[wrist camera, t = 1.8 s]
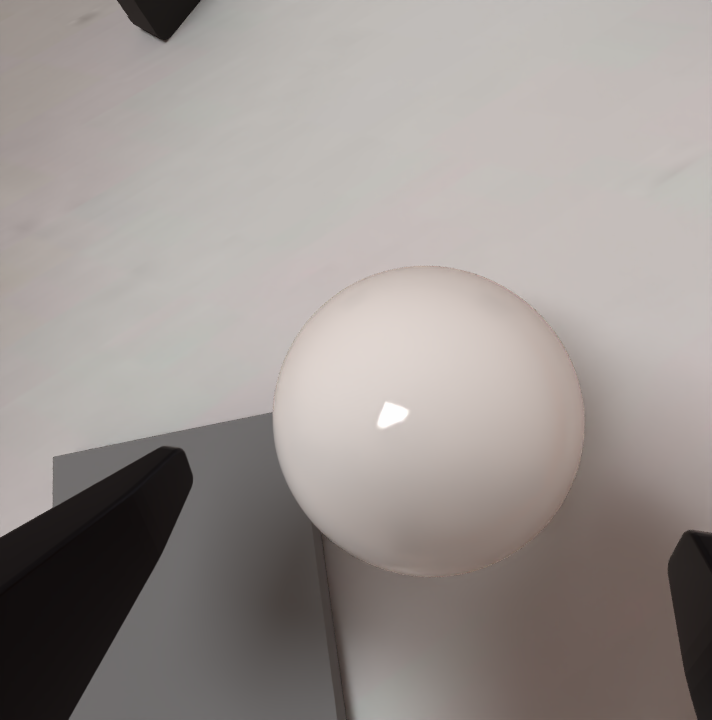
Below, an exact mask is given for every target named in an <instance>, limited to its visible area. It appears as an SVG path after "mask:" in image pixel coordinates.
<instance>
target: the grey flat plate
mask: <svg viewBox="0 0 712 720" xmlns="http://www.w3.org/2000/svg"><path fill="white" fill-rule="evenodd" d="M272 416H273V412H272V413H267V414H262V415H257V416H252V417H247V418H242V419H237V420H232V421H227V422H222V423H218V424H213V425H208V426H203V427H198V428H193V429H188V430H183V431H178V432H173V433H168V434H164V435H159V436H154V437H149V438H144V439H139V440H134V441H129V442H124V443H119V444H114V445H109V446H105V447H100V448H95V449H90V450H85V451H80V452H75V453H70V454H65V455H60V456H55V457H53V507H55V506H57V505H59V504H60V503H62V502H64V501H66V500H67V499H69V498H71V497H73V496H74V495H76V494H78V493H80V492H81V491H83V490H85V489H87V488H88V487H90V486H92V485H94V484H95V483H97V482H99V481H101V480H103V479H104V478H106V477H108V476H110V475H111V474H113V473H115V472H117V471H118V470H120V469H122V468H124V467H125V466H127V465H129V464H131V463H132V462H134V461H136V460H138V459H139V458H141V457H143V456H145V455H147V454H148V453H150V452H152V451H154V450H155V449H157V448H159V447H161V446H173V447H179V448H182V449H183V450H184V451H185V453H186V456H187V459H188V462H189V465H190V467H191V470H192V473H193V485H192V488H191V490H190V493H189V495H188V497H187V499H186V502H185V504H184V506H183V508H182V511H181V513H180V515H179V517H178V520H177V522H176V524H175V526H174V529H173V531H172V533H171V535H170V538H169V540H168V542H167V544H166V546H165V549H164V551H163V553H162V555H161V557H160V559H159V561H158V562H157V564H156V566H155V568H154V570H153V572H152V573H151V575H150V577H149V579H148V580H147V582H146V584H145V586H144V587H143V589H142V591H141V593H140V594H139V596H138V598H137V600H136V602H135V603H134V605H133V607H132V609H131V610H130V612H129V614H128V616H127V617H126V619H125V621H124V623H123V625H122V626H121V628H120V630H119V632H118V633H117V635H116V637H115V639H114V640H113V642H112V644H111V646H110V648H109V649H108V651H107V653H106V655H105V656H104V658H103V660H102V662H101V663H100V665H99V667H98V669H97V670H96V672H95V674H94V676H93V678H92V679H91V681H90V683H89V685H88V686H87V688H86V690H85V692H84V693H83V695H82V697H81V699H80V701H79V702H78V704H77V706H76V708H75V709H74V711H73V713H72V715H71V716H70V718H69V720H346V713H345V706H344V699H343V691H342V684H341V677H340V669H339V662H338V655H337V647H336V640H335V633H334V625H333V618H332V611H331V604H330V596H329V589H328V582H327V574H326V567H325V560H324V552H323V545H322V538H321V532H320V531H319V529H318V528H317V527H316V526H315V525H314V524H313V523H312V522H311V521H310V520H309V518H308V517H307V516H306V515H305V513H304V512H303V510H302V509H301V508H300V506H299V505H298V503H297V502H296V500H295V498H294V497H293V495H292V493H291V491H290V489H289V487H288V485H287V483H286V481H285V478H284V476H283V473H282V471H281V468H280V465H279V462H278V458H277V454H276V449H275V444H274V437H273V421H272Z"/></svg>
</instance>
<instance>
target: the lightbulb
mask: <svg viewBox="0 0 712 720" xmlns="http://www.w3.org/2000/svg"><path fill="white" fill-rule="evenodd" d="M272 421H273V437H274V444H275V449H276V454H277V458H278V462H279V465H280V468H281V471H282V473H283V476H284V478H285V481H286V483H287V485H288V487H289V489H290V491H291V493H292V495H293V497H294V498H295V500H296V502H297V503H298V505H299V506H300V508H301V509H302V510H303V512H304V513H305V515H306V516H307V517H308V518H309V520H310V521H311V522H312V523H313V524H314V525H315V526H316V527H317V528H318V529H319V531H320V532H321V533H323V534H324V535H325V536H326V537H327V538H328V539H329V540H331V541H332V542H333V543H334V544H336V545H337V546H338V547H340V548H341V549H343V550H344V551H346V552H347V553H349V554H351V555H352V556H354V557H356V558H358V559H360V560H361V561H364V562H366V563H368V564H370V565H373V566H375V567H378V568H380V569H383V570H387V571H390V572H394V573H398V574H403V575H408V576H416V577H447V576H455V575H461V574H466V573H470V572H473V571H477V570H480V569H483V568H485V567H488V566H490V565H493V564H495V563H497V562H499V561H501V560H503V559H505V558H507V557H509V556H510V555H512V554H513V553H515V552H517V551H518V550H519V549H521V548H522V547H524V546H525V545H526V544H527V543H529V542H530V541H531V540H532V539H533V538H535V537H536V536H537V535H538V534H539V533H540V532H541V531H542V530H543V529H544V528H545V527H546V526H547V524H548V523H549V522H550V521H551V520H552V518H553V517H554V516H555V514H556V513H557V512H558V510H559V509H560V507H561V505H562V504H563V502H564V500H565V498H566V497H567V495H568V493H569V491H570V489H571V486H572V484H573V482H574V479H575V476H576V474H577V471H578V467H579V464H580V460H581V456H582V450H583V444H584V434H585V414H584V404H583V397H582V392H581V388H580V384H579V380H578V377H577V374H576V371H575V368H574V366H573V364H572V361H571V359H570V357H569V355H568V353H567V351H566V349H565V347H564V346H563V344H562V342H561V341H560V339H559V338H558V336H557V335H556V333H555V332H554V331H553V329H552V328H551V327H550V325H549V324H548V323H547V322H546V321H545V320H544V319H543V317H542V316H541V315H540V314H539V313H538V312H537V311H536V310H535V309H534V308H532V307H531V306H530V305H529V304H528V303H527V302H526V301H524V300H523V299H522V298H520V297H519V296H518V295H516V294H515V293H513V292H512V291H510V290H509V289H507V288H505V287H504V286H502V285H500V284H498V283H496V282H494V281H492V280H490V279H487V278H485V277H482V276H480V275H477V274H474V273H471V272H467V271H463V270H459V269H454V268H448V267H440V266H411V267H403V268H397V269H392V270H388V271H384V272H381V273H377V274H374V275H372V276H369V277H366V278H364V279H362V280H360V281H358V282H356V283H354V284H352V285H350V286H348V287H347V288H345V289H343V290H342V291H340V292H339V293H337V294H336V295H335V296H333V297H332V298H331V299H330V300H328V301H327V302H326V303H325V304H324V305H322V306H321V307H320V308H319V309H318V310H317V311H316V312H315V313H314V314H313V315H312V316H311V318H310V319H309V320H308V321H307V322H306V324H305V325H304V326H303V327H302V329H301V330H300V332H299V333H298V335H297V336H296V338H295V339H294V341H293V343H292V345H291V347H290V348H289V350H288V352H287V355H286V357H285V359H284V362H283V364H282V367H281V370H280V373H279V376H278V379H277V383H276V388H275V393H274V401H273V416H272Z"/></svg>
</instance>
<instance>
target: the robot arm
mask: <svg viewBox="0 0 712 720" xmlns="http://www.w3.org/2000/svg"><path fill="white" fill-rule="evenodd" d="M192 485H193V473H192V470H191V467H190V465H189V462H188V459H187V456H186V453H185V451H184V450H183V449H182V448H179V447H173V446H161V447H159V448H157V449H155V450H154V451H152V452H150V453H148V454H147V455H145V456H143V457H141V458H139V459H138V460H136V461H134V462H132V463H131V464H129V465H127V466H125V467H124V468H122V469H120V470H118V471H117V472H115V473H113V474H111V475H110V476H108V477H106V478H104V479H103V480H101V481H99V482H97V483H95V484H94V485H92V486H90V487H88V488H87V489H85V490H83V491H81V492H80V493H78V494H76V495H74V496H73V497H71V498H69V499H67V500H66V501H64V502H62V503H60V504H59V505H57V506H55V507H53V508H51V509H50V510H48V511H46V512H44V513H43V514H41V515H39V516H37V517H36V518H34V519H32V520H30V521H29V522H27V523H25V524H23V525H22V526H20V527H18V528H16V529H14V530H13V531H11V532H9V533H7V534H6V535H4V536H2V537H0V720H69V718H70V716H71V715H72V713H73V711H74V709H75V708H76V706H77V704H78V702H79V701H80V699H81V697H82V695H83V693H84V692H85V690H86V688H87V686H88V685H89V683H90V681H91V679H92V678H93V676H94V674H95V672H96V670H97V669H98V667H99V665H100V663H101V662H102V660H103V658H104V656H105V655H106V653H107V651H108V649H109V648H110V646H111V644H112V642H113V640H114V639H115V637H116V635H117V633H118V632H119V630H120V628H121V626H122V625H123V623H124V621H125V619H126V617H127V616H128V614H129V612H130V610H131V609H132V607H133V605H134V603H135V602H136V600H137V598H138V596H139V594H140V593H141V591H142V589H143V587H144V586H145V584H146V582H147V580H148V579H149V577H150V575H151V573H152V572H153V570H154V568H155V566H156V564H157V562H158V561H159V559H160V557H161V555H162V553H163V551H164V549H165V546H166V544H167V542H168V540H169V538H170V535H171V533H172V531H173V529H174V526H175V524H176V522H177V520H178V517H179V515H180V513H181V511H182V508H183V506H184V504H185V502H186V499H187V497H188V495H189V493H190V490H191V488H192ZM668 577H669V583H670V589H671V595H672V601H673V607H674V613H675V619H676V625H677V631H678V637H679V643H680V649H681V655H682V660H683V666H684V671H685V676H686V680H687V683H688V687H689V691H690V695H691V699H692V702H693V706H694V709H695V713H696V716H697V720H712V533H709V532H702V531H696V530H688V531H686V532H684V534H683V535H682V537H681V539H680V541H679V542H678V544H677V546H676V548H675V550H674V552H673V553H672V555H671V557H670V559H669V563H668Z"/></svg>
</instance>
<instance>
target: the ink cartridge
mask: <svg viewBox="0 0 712 720" xmlns="http://www.w3.org/2000/svg"><path fill="white" fill-rule="evenodd" d="M117 1H118V2H119V4H120V5H121V7H122V8H123V10H124V11H125V12H126V14H127V15H128V18H129V19H130V21H131V22H133V24H134V25H136V26H138V27H140V28H142V29H144V30H146V31H147V32H149V33H151V34H153V35H155V36H157V37H159V38H161V39H167V38H169V37H170V36H171V35H172V34H173V33H174V32H175V31H176V29H177V28H178V27H179V26H180V25H181V23H182V22H183V21H184V20H185V19H186V17H187V16H188V15H189V14H190V13H191V11H192V10H193V9H194V8H195V6H196V5H197V4H198V3H199V2H200V0H117Z"/></svg>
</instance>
